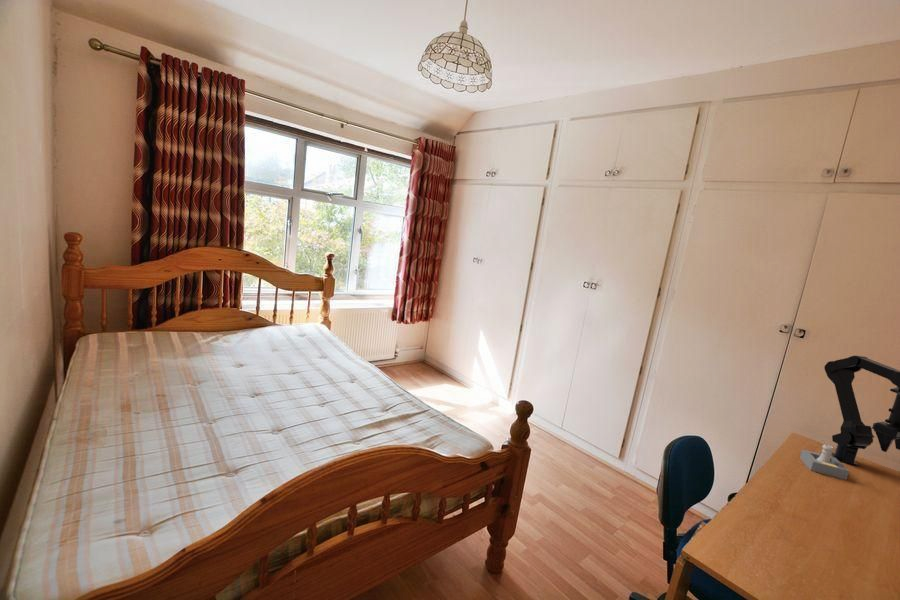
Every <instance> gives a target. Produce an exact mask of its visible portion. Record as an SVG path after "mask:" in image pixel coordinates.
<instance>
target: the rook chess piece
mask: <svg viewBox="0 0 900 600" xmlns="http://www.w3.org/2000/svg"><path fill="white" fill-rule="evenodd" d="M821 447H822V449H821V453H820V454H821V455H820V457H818V458H817V459H816V460H817V461H820V462H825V463H829V464H831V461H830V457H832V455H831V454H832V453H833V452H835V449H834V446H832V445H830V444H828V443H827V444H826V443H824V444H823V445H821Z"/></svg>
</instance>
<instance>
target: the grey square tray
mask: <svg viewBox="0 0 900 600" xmlns="http://www.w3.org/2000/svg"><path fill="white" fill-rule="evenodd" d="M821 454H822V453H818V452H815V451H810V450H807V449H803V448H802V449H801V452H800V456H799V458H800V460H802V462H803V463H804V464H805V466H806V467H807V468H808V469H809V471H811V472H813V473H819V474H823V475H826V476H829V477H833V478H838V479H841V480H845V481H847V479H848V475H849V472H850V471H849V469H848V468H847V467H845V465H844V464H843V463H841V461H838V460H837V459H836V458H835V457H833V456H831V457H830V461H831V464H829V463H825V462H820V461H817V460H816V459H817V458H818V457H820V455H821Z"/></svg>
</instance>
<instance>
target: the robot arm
mask: <svg viewBox="0 0 900 600" xmlns="http://www.w3.org/2000/svg"><path fill="white" fill-rule="evenodd" d="M862 369H863V370H865V371H867V372H870V373H873V374H875V375H876V376H879V377H882V378H885V379H886V380H888V381H890V382H891V384H893V385H894V386H896V387H894V388H890V389H889V391H890V392H891V393H895V395H896V396H895V399H894V400H893V404H892V407H891V408H889V407H888V412H889V417H888V418H886V419H885V420H884V421H877V422H874V423H873V424H872V426H870V425H866V424H865V423H864V422H863V421H862V418H861V413H860V411H859V406H858V404H857V398H856V395H855V392H854V388H853V384H852V383H853V381H854V379H855V377H856V375H855V373H858V372H860V371H862ZM824 371H825V374H826V376H827V378H828V379H829V380H830V381H831V382H832V383H833V384H834V387H835V388H834V389H835V392H836V396H837V401H838V404H839V408H840V412H841V416H842V418H843V419H842V424H841V426H840V433H836V434H833V435H832V442H833V443H835V444H837V445H836V447H835V450H834V452H832V454H831V457H835V458H836V459H837V460H838V461H839V462H840V463H841V462H842V463H845V464H849V465H853V466H856V467H858V466H859V463H858V462H856V461H855V460H856V458H857V454H858V451H859V450H860V449H861V450H865V449H867V447H870V446H871V445H872V444H873V442H874V438H875V436H874V434H873V432H874V433H875V434H876V438H877V440H878V443H879V446H880V449H881V451H882V452H884V453H886V452H888V450H889V448H890V447H891V445H892V444H893V441H894V444H895V445H894V447H895V449H897V450H899V451H900V369H896V368H893V367H891V366H889V365H886V364H884V363H881V362H878V361H876V360H873V359H871V358H868V357H867V356H862V355H851V356H849V357H846V358H845V357H844V358H839V359H837V360H831V361H828V362H827V363H825V365H824Z"/></svg>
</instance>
